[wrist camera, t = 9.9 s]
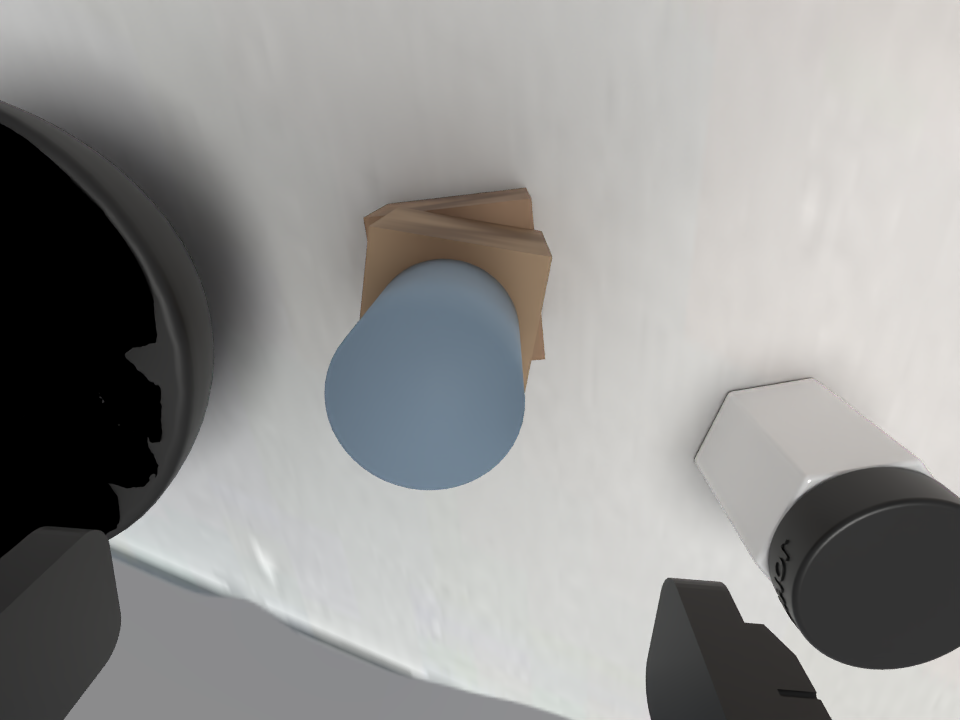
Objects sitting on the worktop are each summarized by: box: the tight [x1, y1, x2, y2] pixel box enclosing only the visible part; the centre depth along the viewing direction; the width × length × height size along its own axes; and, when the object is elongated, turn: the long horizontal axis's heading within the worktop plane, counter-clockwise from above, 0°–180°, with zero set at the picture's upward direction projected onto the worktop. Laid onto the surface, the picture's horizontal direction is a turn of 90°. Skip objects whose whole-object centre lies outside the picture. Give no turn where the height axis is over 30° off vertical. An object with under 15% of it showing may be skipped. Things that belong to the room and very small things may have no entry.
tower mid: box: [360, 207, 552, 393], centre depth 24 cm, size 6×6×6 cm
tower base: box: [364, 188, 545, 360], centre depth 30 cm, size 7×7×6 cm
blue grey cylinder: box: [325, 259, 525, 490], centre depth 18 cm, size 5×5×6 cm
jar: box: [695, 378, 960, 670], centre depth 30 cm, size 9×8×12 cm
